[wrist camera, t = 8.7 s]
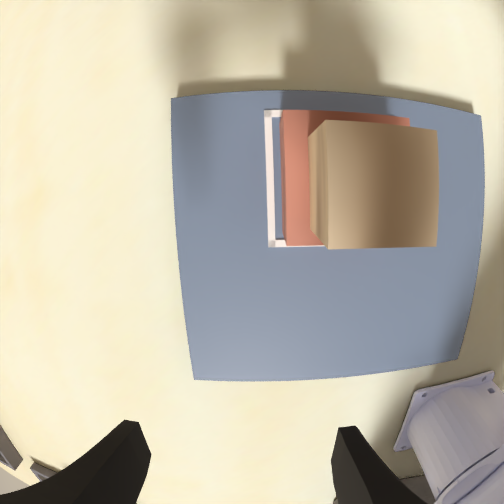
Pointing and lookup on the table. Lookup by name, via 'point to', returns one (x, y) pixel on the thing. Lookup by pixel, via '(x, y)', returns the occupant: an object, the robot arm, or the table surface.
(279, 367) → the board
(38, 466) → the frame
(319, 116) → the base block
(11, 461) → the grey tray
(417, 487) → the flask
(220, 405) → the table surface
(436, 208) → the maple cube
